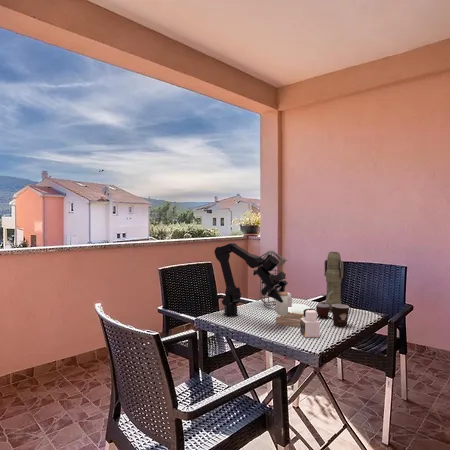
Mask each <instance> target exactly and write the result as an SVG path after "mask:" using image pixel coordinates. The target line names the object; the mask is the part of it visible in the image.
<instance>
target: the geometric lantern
mask: <svg viewBox="0 0 450 450" xmlns="http://www.w3.org/2000/svg"><path fill="white" fill-rule="evenodd" d="M270 254H271V255H272V256H274V257H275V258H277V259H278V261H279V264H278V265H277V266H276V267H275V268H274V269H273V270H272V271H273V272H272V271H271V272H272V273H271V272H270V273H271V275H272V274H274V275H277V274H279V272H281V270H283V267H284V264H285V263H286V262H287V261H288V260H287V259H286V258H285V257H283V256H281V255H280V254H278V253H277V252H275V251H274V250H268V251H267V252H265V253H263V254H262V255H260V257H261V258H262V259H264V260H265V258H266V257H267V256H268V255H270ZM280 267H281V270H280ZM276 268H277V270H276ZM283 280H284V279H282V280H280V281H283ZM259 282H260V284H259V300H260V301H261V302H262V304H263V307H265V308H266V309H272V307H271V306H276V300H275V299H274V298H273V300H272V301H270V297H269V296H266V295H265V296H263V295H262V294H261V290H262V289H263V288H264V287H265V286H266V285H265V284H262V280H261V279H260V278H259ZM268 294H269V293H268V292H267V295H268ZM266 299H267V301H265V300H266ZM270 303H271V304H270Z"/></svg>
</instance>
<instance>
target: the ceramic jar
mask: <svg viewBox="0 0 450 450" xmlns="http://www.w3.org/2000/svg"><path fill="white" fill-rule="evenodd" d="M288 293H289V292H288V291H287V290H285V291H278V294H279V295H280V297H281V298H282V300H283V302H282V303H281V302H279V301H278V305H277V311H276V312H277V313H276V314H277V316H278V315H287V314H288Z"/></svg>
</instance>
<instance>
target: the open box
mask: <svg viewBox="0 0 450 450" xmlns="http://www.w3.org/2000/svg"><path fill="white" fill-rule="evenodd" d="M301 318H303V313H298V312H297V313H296V312H292V313H290V312H288V314H287V315H278V314H277V316H276V317H275V325H279V326H287V327H293V328H300V319H301Z"/></svg>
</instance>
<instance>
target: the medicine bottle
mask: <svg viewBox="0 0 450 450" xmlns="http://www.w3.org/2000/svg"><path fill="white" fill-rule="evenodd" d="M302 314H303V318H301V319H300V327H299V328H300V329H299V331H300V334H301V335H302V336H303V337H304V338H320V334H321V333H320V331H321V330H320V329H321V327H320V326H321V324H320V321H319V320H318V319H317V318H318V317H317V316H318V314H317V311H316V309H314V308H305V309H304V310H303V313H302Z"/></svg>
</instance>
